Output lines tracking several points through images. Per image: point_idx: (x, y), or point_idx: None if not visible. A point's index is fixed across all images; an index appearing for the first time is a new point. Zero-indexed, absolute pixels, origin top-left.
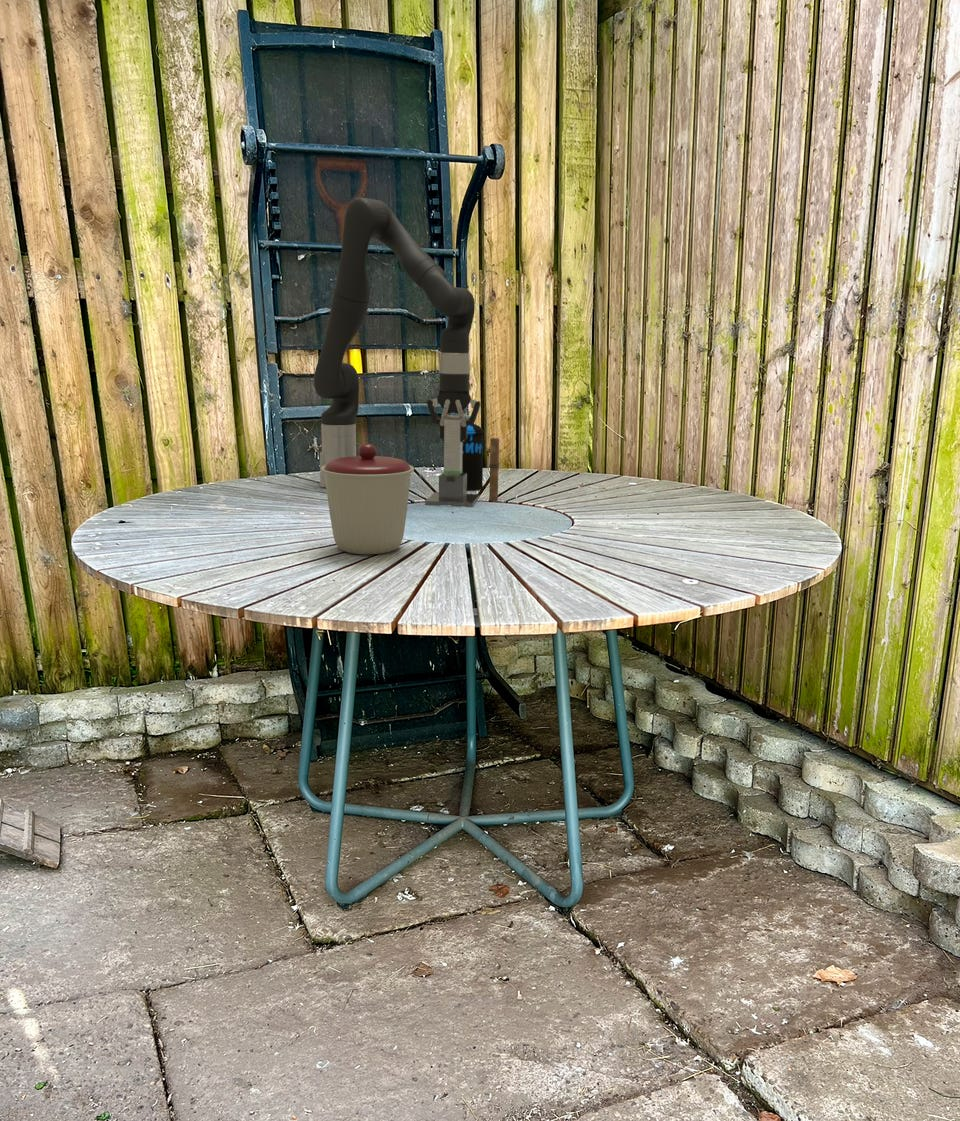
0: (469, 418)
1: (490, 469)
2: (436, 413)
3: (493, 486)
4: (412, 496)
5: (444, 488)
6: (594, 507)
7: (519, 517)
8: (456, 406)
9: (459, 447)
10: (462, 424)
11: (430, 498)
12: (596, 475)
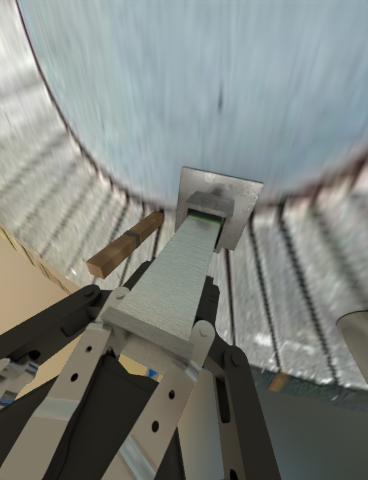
0: (150, 375)
1: (139, 232)
2: (221, 412)
3: (149, 219)
4: (268, 250)
5: (223, 203)
6: (55, 173)
7: (105, 69)
8: (72, 414)
9: (170, 242)
10: (124, 296)
11: (248, 206)
12: None
